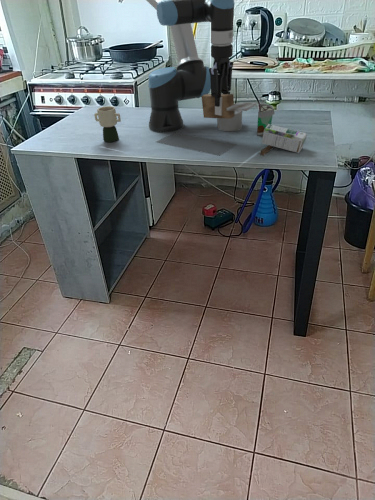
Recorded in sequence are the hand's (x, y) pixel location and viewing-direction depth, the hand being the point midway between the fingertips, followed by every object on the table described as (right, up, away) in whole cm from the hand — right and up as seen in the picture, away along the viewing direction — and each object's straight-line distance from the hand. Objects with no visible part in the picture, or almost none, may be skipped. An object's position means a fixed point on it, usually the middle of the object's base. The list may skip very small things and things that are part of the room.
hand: (220, 113), depth 146 cm
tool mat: (-10, -11, +4) cm, 15 cm away
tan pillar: (+3, -2, -1) cm, 3 cm away
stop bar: (+17, -15, -5) cm, 23 cm away
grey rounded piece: (+5, 0, +19) cm, 19 cm away
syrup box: (+15, -9, -5) cm, 19 cm away
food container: (+19, -5, +11) cm, 22 cm away
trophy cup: (-44, -7, +12) cm, 46 cm away
